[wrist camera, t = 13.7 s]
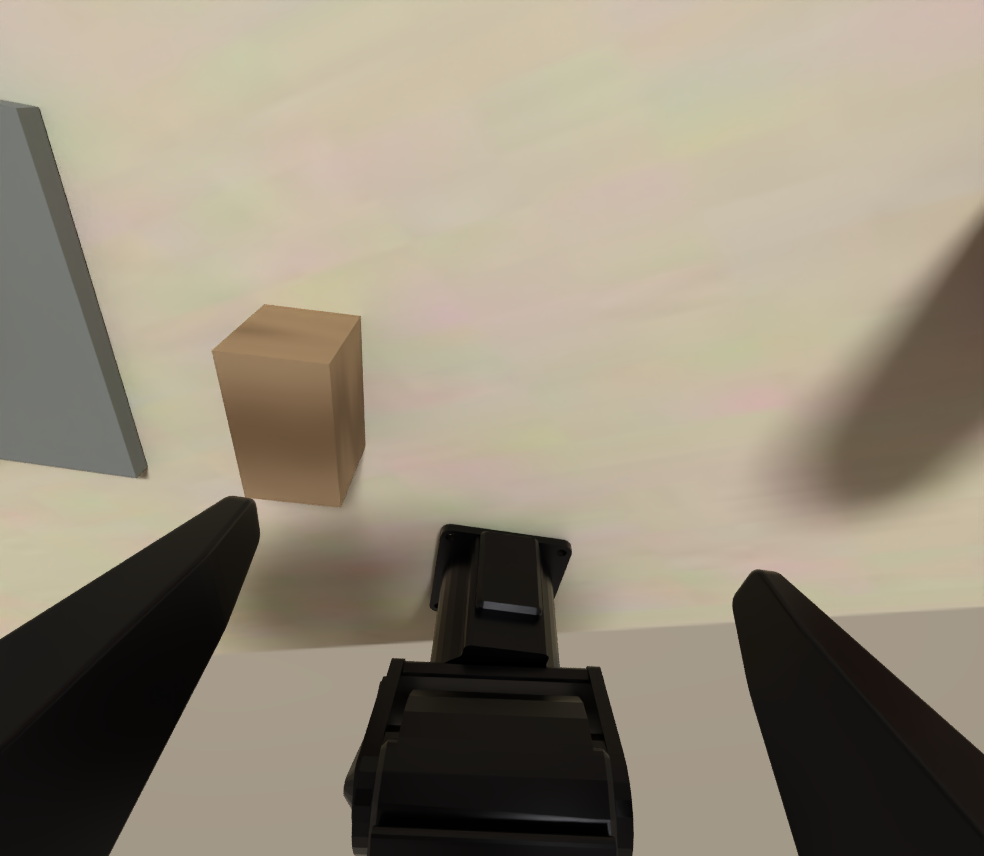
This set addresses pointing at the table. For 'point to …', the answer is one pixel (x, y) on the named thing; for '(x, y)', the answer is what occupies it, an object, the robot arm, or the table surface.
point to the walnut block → (294, 403)
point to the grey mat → (52, 322)
